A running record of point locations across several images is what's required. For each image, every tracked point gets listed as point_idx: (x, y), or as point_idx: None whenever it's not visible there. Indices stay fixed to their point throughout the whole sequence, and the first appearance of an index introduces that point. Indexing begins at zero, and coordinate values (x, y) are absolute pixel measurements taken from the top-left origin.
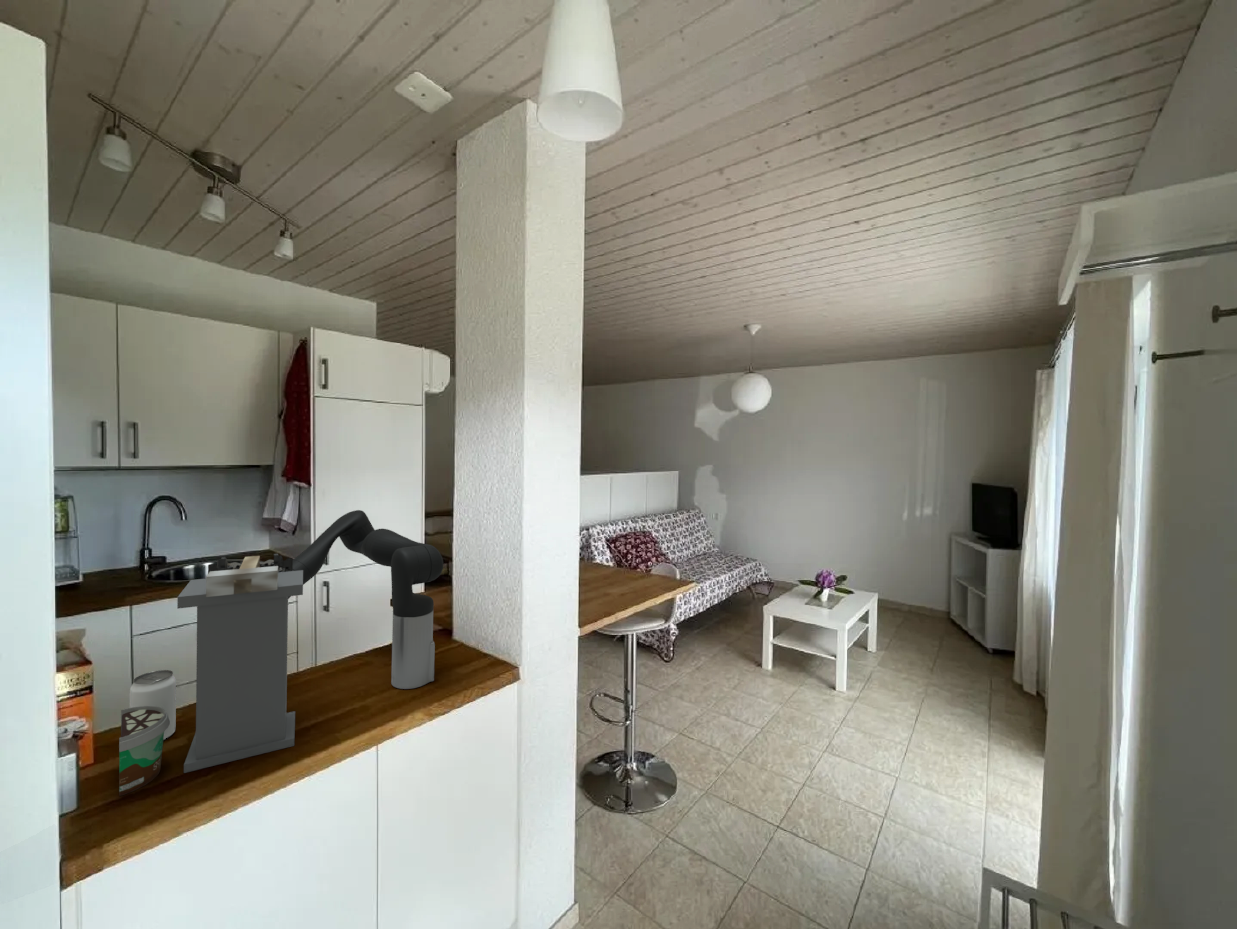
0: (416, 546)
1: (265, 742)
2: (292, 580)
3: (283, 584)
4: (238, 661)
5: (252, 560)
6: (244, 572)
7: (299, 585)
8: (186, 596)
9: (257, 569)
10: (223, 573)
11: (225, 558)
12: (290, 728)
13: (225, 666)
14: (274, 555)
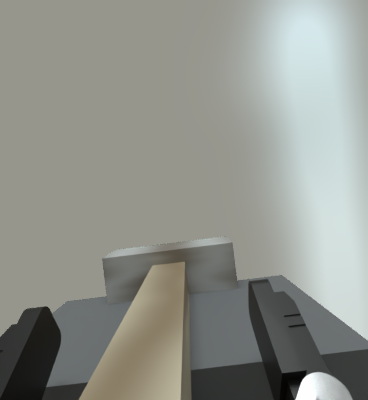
0: None
1: None
2: (68, 317)
3: (98, 302)
4: None
5: (140, 332)
6: (167, 244)
7: (74, 301)
8: (267, 277)
9: (144, 250)
10: (202, 241)
11: (249, 283)
12: None
13: None
14: (48, 309)
